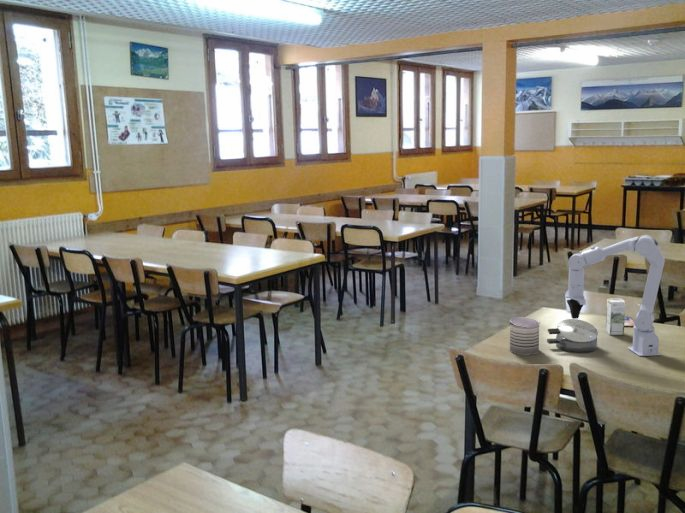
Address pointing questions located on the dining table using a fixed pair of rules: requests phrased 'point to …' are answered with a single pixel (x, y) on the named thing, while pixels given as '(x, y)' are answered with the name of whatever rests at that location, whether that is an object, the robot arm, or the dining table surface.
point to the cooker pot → (573, 345)
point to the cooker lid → (576, 330)
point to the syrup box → (615, 316)
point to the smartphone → (629, 322)
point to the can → (524, 335)
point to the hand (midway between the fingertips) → (574, 318)
